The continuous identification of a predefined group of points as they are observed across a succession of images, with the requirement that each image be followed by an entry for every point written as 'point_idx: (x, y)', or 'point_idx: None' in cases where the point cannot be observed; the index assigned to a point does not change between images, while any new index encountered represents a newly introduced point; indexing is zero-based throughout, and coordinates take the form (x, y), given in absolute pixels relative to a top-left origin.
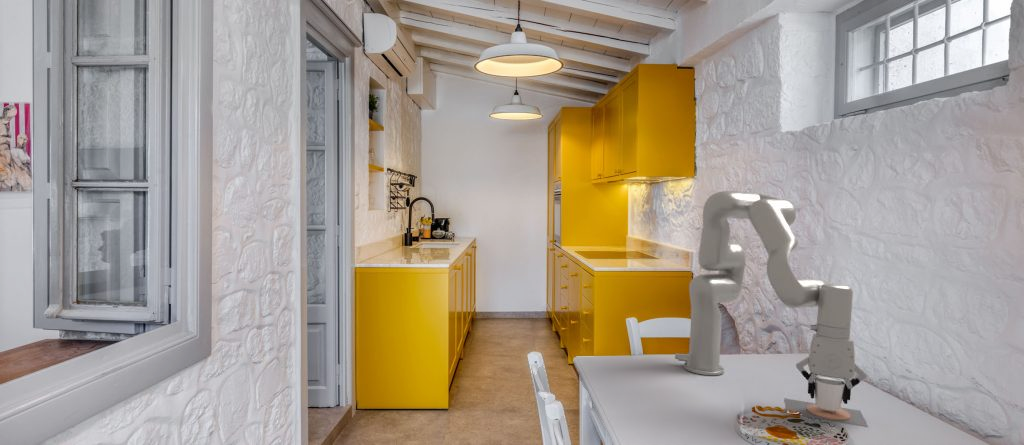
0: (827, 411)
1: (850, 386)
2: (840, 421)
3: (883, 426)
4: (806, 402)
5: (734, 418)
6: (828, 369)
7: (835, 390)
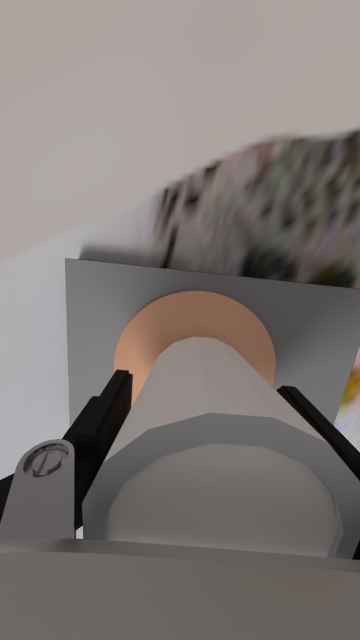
0: None
1: (41, 461)
2: (168, 280)
3: (17, 356)
4: None
5: None
6: None
7: (190, 383)
